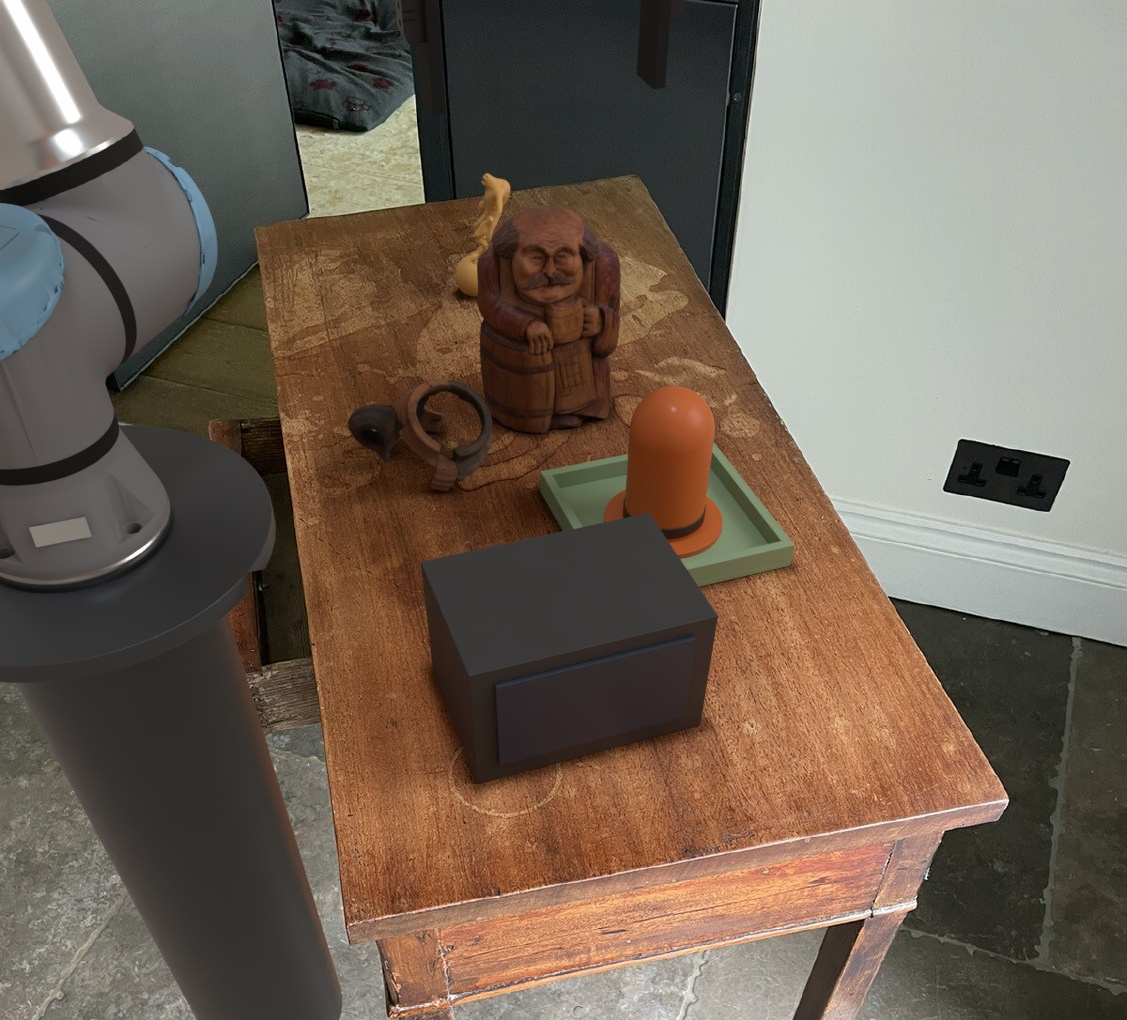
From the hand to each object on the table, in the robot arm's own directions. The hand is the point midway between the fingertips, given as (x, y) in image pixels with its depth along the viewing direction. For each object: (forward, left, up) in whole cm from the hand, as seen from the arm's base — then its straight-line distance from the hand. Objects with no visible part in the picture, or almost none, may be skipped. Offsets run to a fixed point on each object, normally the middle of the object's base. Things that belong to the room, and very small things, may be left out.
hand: (544, 94), depth 63 cm
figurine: (-40, +7, -32) cm, 52 cm away
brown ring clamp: (-12, -7, -32) cm, 35 cm away
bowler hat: (+3, +9, -31) cm, 33 cm away
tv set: (+18, -5, -32) cm, 37 cm away
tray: (+3, +9, -32) cm, 33 cm away
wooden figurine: (-16, +6, -32) cm, 36 cm away
